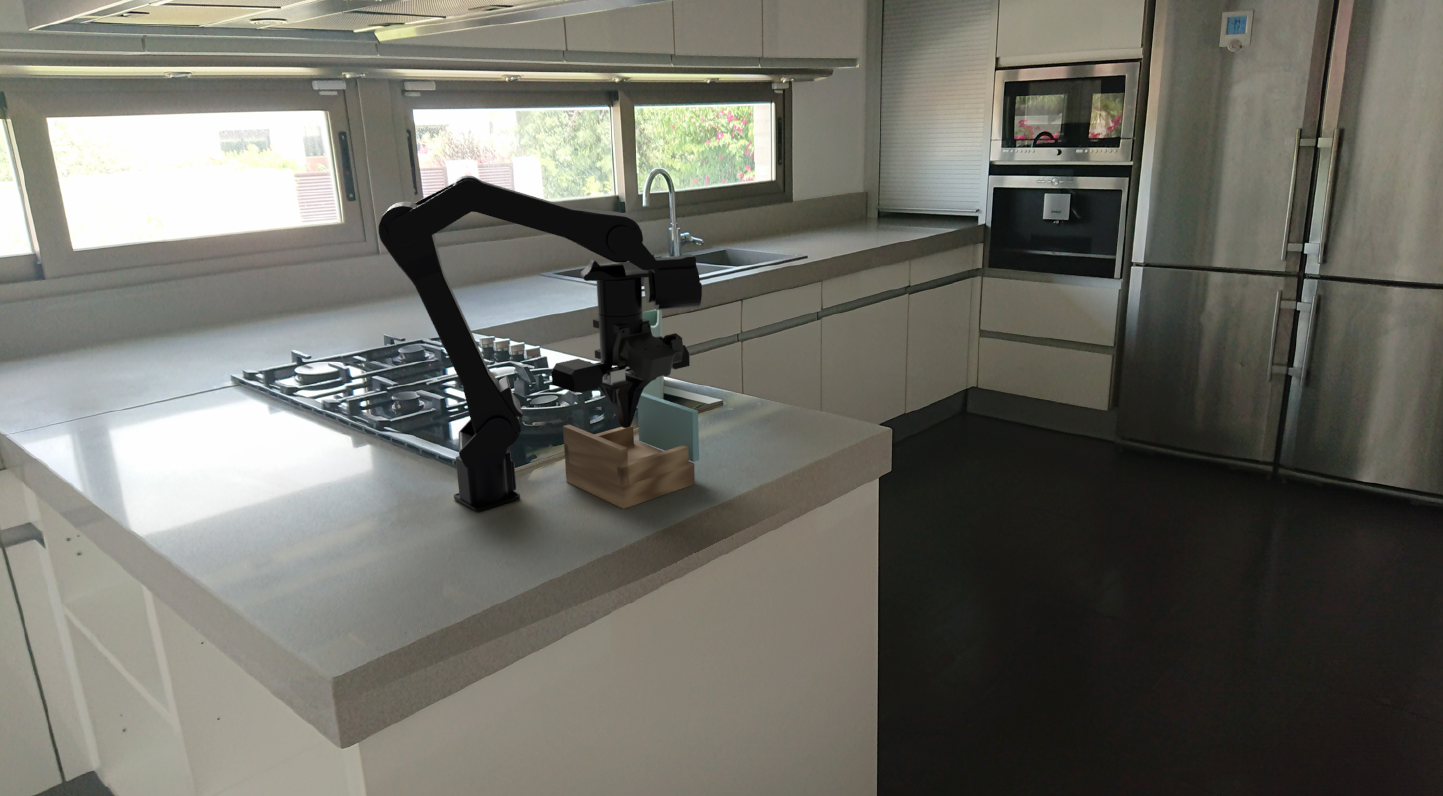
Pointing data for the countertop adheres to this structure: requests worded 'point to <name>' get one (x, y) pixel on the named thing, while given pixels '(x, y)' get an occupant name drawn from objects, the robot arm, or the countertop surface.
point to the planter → (655, 321)
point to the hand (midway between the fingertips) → (625, 427)
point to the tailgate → (668, 425)
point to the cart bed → (623, 466)
